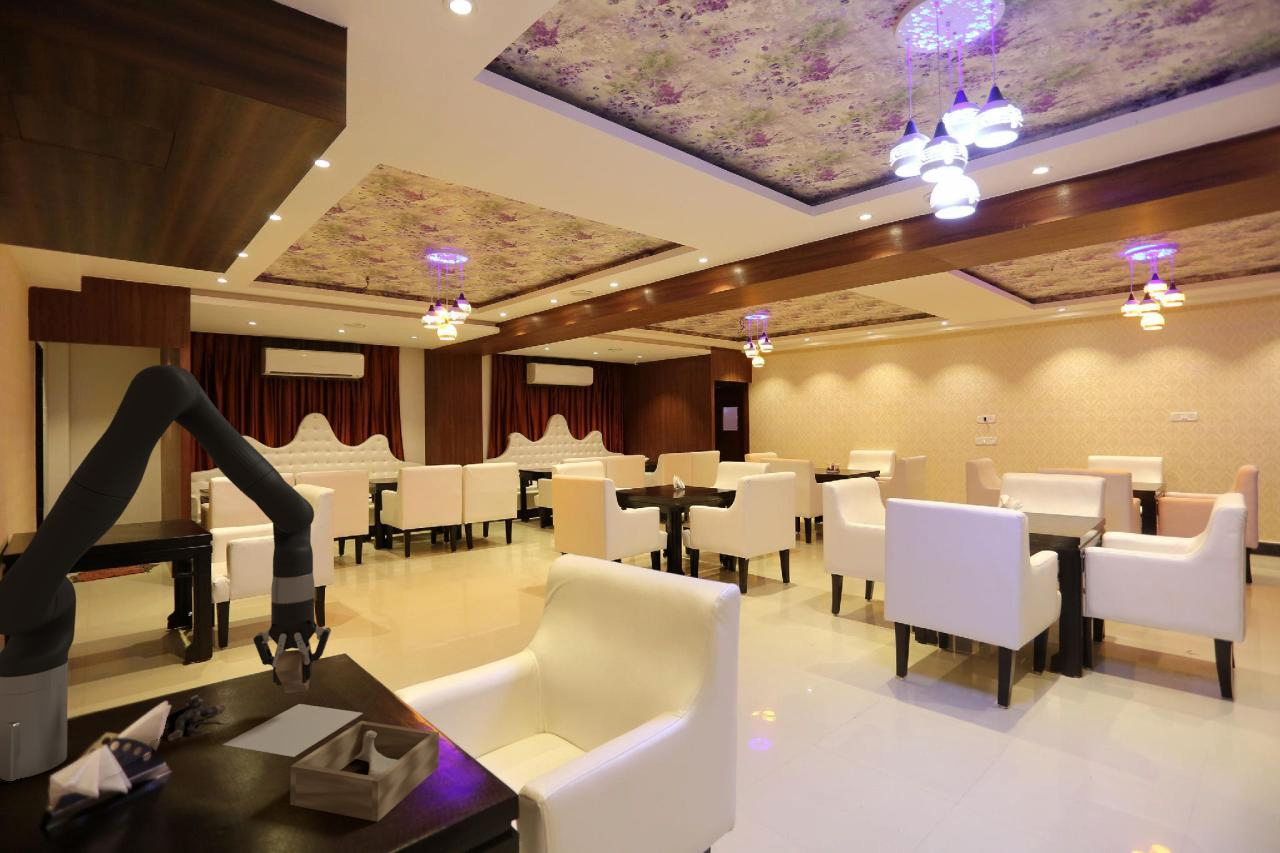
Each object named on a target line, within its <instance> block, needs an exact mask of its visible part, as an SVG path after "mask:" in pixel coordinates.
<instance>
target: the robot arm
mask: <svg viewBox="0 0 1280 853" xmlns="http://www.w3.org/2000/svg"><path fill="white" fill-rule="evenodd" d="M174 422H176V423H177V424H178V425H179V426H181V427H182V428H183V429H184V430H185V431H187V433H189V434H190V436H192V437H193V438H194V439H195V441H197V442H198V443H199V445H200V446H201V447H202V448H203V450H204V451H205V452H206V453H207V455H208V457H209V458H210V459H211V461H213V464H215V466H216V467H217V469H219V471H220V472H221V473H222V474H223V475H224V476H225V478H227V479H228V480H229V481H230V482H231V483H232V484H233V485H234V486H235V487H236V488H237V489H238V490H239V491H240V492H242V493H243V495H244V496H246V497H247V498H248V499H250V500H251V501H252V502H253V503H255V505H256V506H257V507H258V508H259V509H260V510H261V512H262V513H263V514H264V515H265V516H266V517H267V518H268V520H269V521H271V522H272V533H273V544H274V547H273V557H272V582H271V590H270V591H271V593H270V595H271V600H270V602H271V603H270V606H271V607H270V608H271V609H270V610H271V613H270V618H271V625H270V627H269V629H268V631H264V632H258V634H256V635H255V637H253V644H254V646H255V648H256V651H257V653H258V656H259V659H260V661H261V663H262V665H264V666H266V665H268V666H271V667H272V681H273V683H274V684H276V686H277V687H278V686H282V684H281V681H280V680H279V678H278V676H277V674H276V672H275V670H276V665H277V661H278V656H279V654H280V653H282V652H283V651H288V650H290V649H294V650H299V652H302V660H303V663H304V664H303V665H302V683H307V681H308V680H309V679H310V680H311V677H312V676H313V662H315V661H316V662H317V661H319V660H320V659H321V657H322V655H323V654H324V651H325V649H326V646H327V643H328V641H329V638H330V635H331V632H332V629H331V628H330V627H326V628H323V627H319V626H317V625H318V624H316V621H315V594H316V588H315V579H314V554H313V553H314V552H313V548H312V547H313V546H312V544H311V537H312V536H311V535H312V534H311V533H312V524H313V522H314V519H315V510H314V507H313V506H312V505H311V502H309V501H308V500H307V499H306V498H304V496H302V495H301V494H300V493H299V491H297V490H296V489H295V488H293V486H292V485H291V484H289V483H288V482H287V481H286V480H285V479H284V478H283V476H282V475H281V474H280V473H279V471H278V470H277V469H276V468H275V467H274V466H273V465H272V464H271V463H270V461H268V460H267V459H266V458H265V457H264V455H262V454H261V453H260V452H259V451H258V450H257V449H256V448H255V447H254V446H253V445H252V444H251V443H250V442H249V441H248V440H247V439H246V438H244V436H243V435H242V434H241V433H239V432H238V430H236V429H235V427H233V425H232V424H231V423H230V422H229V421H228V420H227V419H226V418H225V416H224V415H222V413H221V412H220V411H219V409H218V408H217V407H216V406H215V404H214V403H213V402H212V401H211V399H210V398H209V396H208V395H207V394H206V392H205V390H204V389H203V388H202V386H201V385H200V383H199V382H198V381H197V379H196V377H195V376H194V375H193V374H192V372H190V371H189V370H188V369H185V368H184V367H181V366H179V365H178V366H177V365H173V364H158V365H152V366H148V367H146V368H144V369H141V370H140V371H139V372H138V373H136V374H135V376H134V377H133V378H132V380H130V383H129V385H128V387H127V389H126V392H125V394H124V396H123V398H122V400H121V402H120V404H119V406H118V408H117V410H116V412H115V413H114V416H113V417H112V420H111V422H110V424H109V425H108V427H107V428H106V430H105V431H104V433H103V434H102V435H101V436H100V438H99V439H98V440H97V441H96V442H95V444H94V445H93V446H92V448H91V449H90V450H89V452H88V453H87V455H86V456H85V457H84V459H83V460H82V462H81V463H80V464H79V466H78V467H77V468H76V470H75V471H74V472H73V474H72V475H71V476H70V478H69V480H68V481H67V483H66V485H65V486H64V488H63V489H62V491H61V493H60V494H59V496H58V497H57V499H56V501H55V502H54V504H53V506H52V507H51V509H50V510H49V512H48V513H47V515H46V517H45V518H44V520H43V521H42V522H41V524H40V526H39V527H38V529H37V530H36V532H35V534H34V536H33V537H32V539H31V540H30V542H29V543H28V545H27V547H26V548H25V549H24V551H23V552H22V553H21V554H20V556H19V557H18V558H17V559H16V561H15V562H14V563H13V564H12V566H11V567H10V568H9V569H7V570H8V571H6V573H5V574H4V576H2V578H1V579H0V635H2V636H9V639H8V641H7V643H5V646H4V648H2V650H1V651H0V778H1V779H3V780H6V781H14V780H16V779H18V780H21V779H20V778H22V779H26V778H29V777H33V776H36V775H40V774H42V773H45V772H47V771H49V770H52V769H54V768H56V767H58V766H59V765H61V764H62V763H64V762H65V761H66V759H67V758H68V699H69V698H68V696H69V695H68V691H69V689H68V688H69V687H68V686H69V685H68V683H69V682H68V681H69V678H68V677H69V653H70V649H71V647H72V645H73V642H74V639H75V638H74V637H75V632H76V631H75V630H76V629H75V628H76V614H77V597H76V596H77V594H76V589H75V587H74V584H73V582H72V581H71V579H70V578H69V577H67V575H68V574H69V573H70V571H71V570H72V568H73V567H74V566H75V564H76V563H77V562H78V561H79V560H80V559H81V557H83V556H84V554H86V553H87V552H88V551H89V550H90V549H91V548H92V547H93V546H94V545H95V544H96V543H97V542H98V541H99V540H101V538H103V537H104V536H105V535H106V534H107V533H108V532H109V531H110V529H112V527H113V526H114V525H115V524H116V523H117V521H118V520H119V519H120V517H121V516H122V515H123V513H124V512H125V511H126V510H127V507H128V506H129V504H130V502H131V501H132V500H133V498H134V496H135V494H136V493H137V490H138V489H139V487H140V485H141V483H142V480H143V478H144V474H145V473H146V470H147V467H148V463H149V460H150V458H151V455H152V453H153V451H154V449H155V447H156V445H157V443H158V442H159V440H160V439H161V438H162V437H163V435H164V434H165V432H166V431H167V430H168V429H169V427H170V426H171V425H172V423H174ZM314 634H316V639H317V640H318V643H317V646H316V647H315V648H316V649H315V652H313V651H312V649H311V648H312V647H311V642H310V640H311V638H312V637H313V636H314ZM270 638H271V640H272V641H273V642H274V643H275V644H276V648H275V651H274V656H273V653H272V652H271V651H272V650H271V648H270V646H269V641H270ZM25 777H26V778H25ZM6 781H5V782H6ZM16 781H17V780H16ZM14 782H15V781H14Z"/></svg>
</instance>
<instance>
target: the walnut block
mask: <svg viewBox="0 0 1280 853" xmlns="http://www.w3.org/2000/svg"><path fill="white" fill-rule="evenodd" d="M303 664H304V663H303V660H302V652H299V649H293V650H292V649H291V650H290V649H289V650H286V651H283V652H282V653H280V654H279V656H278V661H277V665H276V670H275V672H276V674H277V676H278V678H279V680H280V681H281V684H282V685H281V686H282V688H283V691H284V693H285V694H289V693H290V694H292V693H302V692H303V693H304V692H309V686H310V681H311V678H310V679H309V680H308V681H307V683H302V665H303Z"/></svg>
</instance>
